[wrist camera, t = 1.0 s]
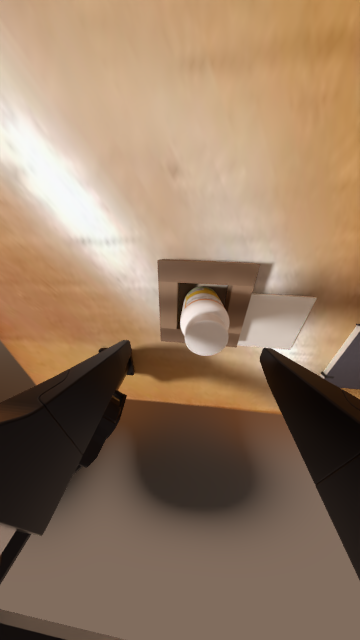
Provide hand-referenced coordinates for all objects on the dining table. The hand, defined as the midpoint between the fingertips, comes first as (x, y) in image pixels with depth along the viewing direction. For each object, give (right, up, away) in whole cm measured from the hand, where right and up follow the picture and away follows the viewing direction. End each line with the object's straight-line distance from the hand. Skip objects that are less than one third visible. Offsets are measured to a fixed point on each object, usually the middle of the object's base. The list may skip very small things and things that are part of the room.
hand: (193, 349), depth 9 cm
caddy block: (+2, +5, +12) cm, 13 cm away
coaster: (+13, +2, +12) cm, 18 cm away
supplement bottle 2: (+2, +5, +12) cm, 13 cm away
